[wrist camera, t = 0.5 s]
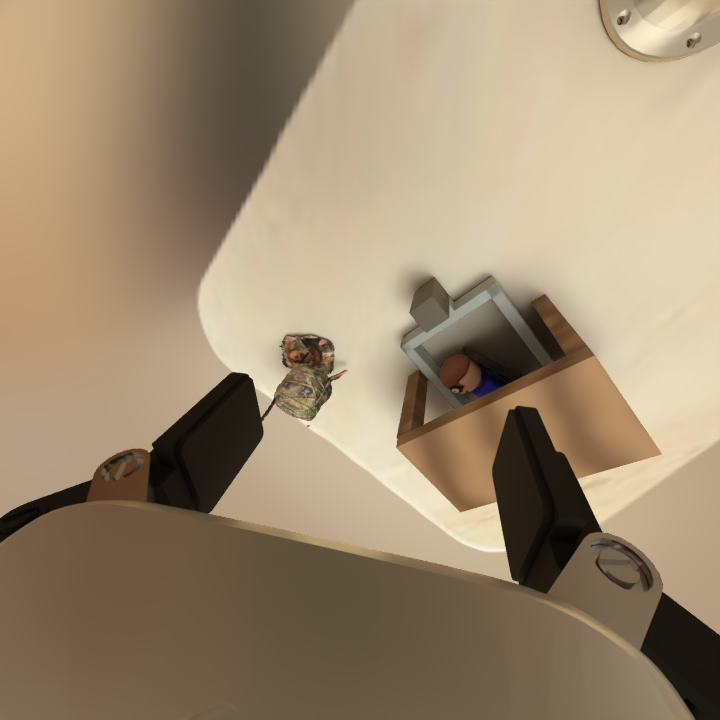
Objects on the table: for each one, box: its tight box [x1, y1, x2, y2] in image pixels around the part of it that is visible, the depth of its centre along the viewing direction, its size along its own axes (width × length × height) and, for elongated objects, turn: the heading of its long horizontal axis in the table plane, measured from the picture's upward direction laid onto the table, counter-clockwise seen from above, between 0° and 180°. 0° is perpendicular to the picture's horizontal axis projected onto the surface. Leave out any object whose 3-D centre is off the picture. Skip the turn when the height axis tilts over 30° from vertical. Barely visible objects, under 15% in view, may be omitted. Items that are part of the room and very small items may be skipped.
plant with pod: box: [261, 335, 347, 427], centre depth 40 cm, size 8×11×20 cm
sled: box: [400, 276, 554, 409], centre depth 39 cm, size 13×26×7 cm, turn 43°
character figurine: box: [440, 347, 522, 397], centre depth 39 cm, size 8×7×15 cm
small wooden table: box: [396, 295, 662, 512], centre depth 36 cm, size 20×12×15 cm, turn 133°
